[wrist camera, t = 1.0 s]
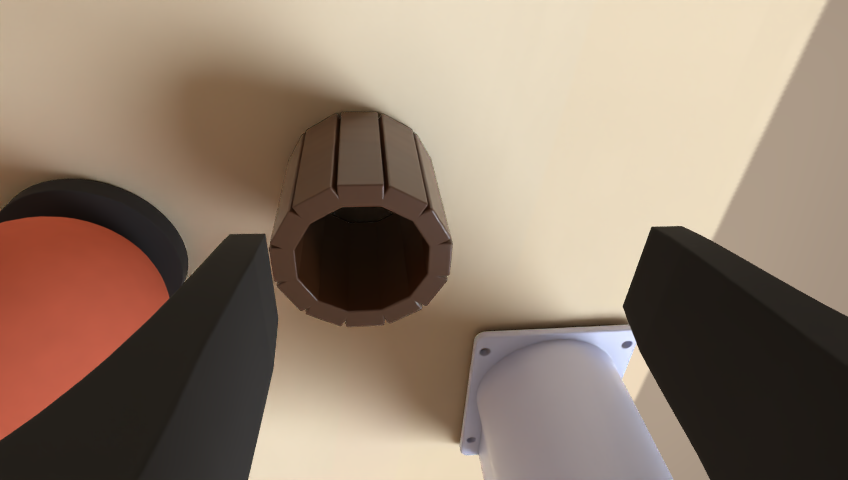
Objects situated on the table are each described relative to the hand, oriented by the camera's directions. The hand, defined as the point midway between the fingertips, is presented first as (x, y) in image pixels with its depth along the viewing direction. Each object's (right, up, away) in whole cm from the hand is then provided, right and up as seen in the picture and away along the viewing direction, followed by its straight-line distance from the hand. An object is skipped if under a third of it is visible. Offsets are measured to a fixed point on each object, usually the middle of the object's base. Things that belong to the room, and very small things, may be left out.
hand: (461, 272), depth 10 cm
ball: (-13, 0, +10) cm, 16 cm away
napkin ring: (-3, +3, +9) cm, 10 cm away
